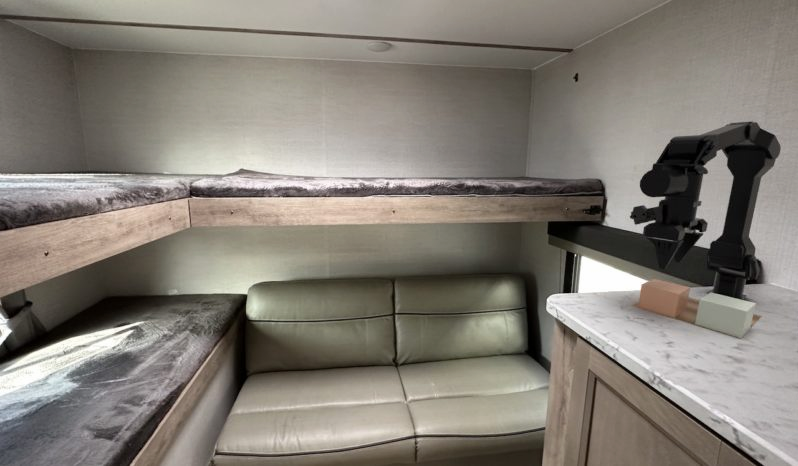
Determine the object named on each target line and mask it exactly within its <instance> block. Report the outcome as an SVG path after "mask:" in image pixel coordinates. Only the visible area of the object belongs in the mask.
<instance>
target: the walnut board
mask: <svg viewBox="0 0 798 466" xmlns="http://www.w3.org/2000/svg"><path fill="white" fill-rule="evenodd" d="M699 301H700V299H696V298H694V297H690V296H689V297H688V303H687V308H686V311H684V312H683V313H681V314H680V315H678V316H677V317H675V318H673V317H670V316H667V315H663V314H660V313H657V312H654V311H650V310H647V309H644V308H640V307H638V304H639V302H637V303H635V304H633V305H632V307H635V308H638V309H641V310H644V311H648V312H651V313H653V314H657V315H660V316H664V317H667V318H670V319H674V320H676V321H679V322H682V323H686V324H690V325H693V326H697V327H700V328H703V329H705V330H710V331H713V332H716V333H719V334H722V335H725V336H729V337H732V338H734V339H739V340H741V339H742V338H743V337H744V336H745V335H746V334H747V332H746V333H745V334H744V335H743V336H742V338H739V337H735V336H732V335H729V334H726V333H722V332H719V331H716V330H712V329H709V328H706V327H703V326H699V325H696V324H695V321H696V316H697V311H698V306H699ZM762 317H763V316H762V315H760V314H756V313H754V314H753V318H752V322H751V327H750V329H751V328H752V327H754V326H755V324H756V323H757V322H758V321H759V320H760V319H761V318H762Z"/></svg>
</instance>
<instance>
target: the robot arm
mask: <svg viewBox="0 0 798 466" xmlns="http://www.w3.org/2000/svg"><path fill="white" fill-rule="evenodd" d="M781 150H782V147H781V144H780V142H779V140H778V139H777V136H776V135H775V134H774V133H772V132H769V131H767V130H765V129H763V128H761V127H760V125H759V123H758V122H757V121H756V122H755V121H750V120H749V121H739V122H738V121H737V122H731V123H729V124H728V123H727V124H726V125H724V126H721V127H720V128H717V129H716V128H715V129H712V130H710V131H707V132H704V133H701V134H696V135H694V134H693V135H677V136H673V137H672V138H671V139H670V140H669V142H668V143H667V145H666V146H665V147H664V149H663V151H662V152H661V154H660V156H659V157H658V158H657V160H656V162H655V163H653V164H652V166H651V167H652V168H651V169H650V170H648V171H646V172H645V173H644V174H643V176H642V177H641V179H640V181H639V188H640V190H641V193H642V194H643V195H645V196H647V197H649V198H662V197H663V199H660V200H659V202H658V206H653V207H649V208H647V207H646V206H645V205H644V204H643V205H637V206H633V209H632V211H630V215H629V218H630V220H633V224H634V225H635V226H636V225H641V224H645V223H648V224H647V225H645V226H643V231H642V236H644V237H645V239H646V240H648V241H649V242H651V244H653V246H654V250H655V254H656V256H655V257H656V260H657V266H658V267H657V268H658V269H660V270H665V269H666V268H667V267H668V266H669V264H670V262H671V261H672V260H673V259H674V262H675V263H682V261H683V260H684V259H685V257H686V256H687V255H688V253H689V252H690V251H691V250H692V248H693V247H694V246H695V245H696V243H697V242H699V240H700V239H701V237H703V236H704V233H706V232H707V229H708V224H709V223H708V221H706V220H705V219H704V218H699V217H696V216H697V212H698V211H697V210H698V207H700V206H701V207H702V202H703V201H702V200H700V194H701V189H702V185H703V184H702V183H703V179H704V175H708V174H709V171H708V169H707V168H706V167H705V165H707V163H708V162H710V161H711V160H713V159H715V158H716V157H717V153H718V151H722V152H723V155H725V158H727V160H726V167H727V168H728V170H729V172H730V173H731V175H732V176H733V178H732V184H731V189H730V194H729V199H728V204H727V209H726V214H725V219H724V224H723V230H722V234H721V235H720V236H718V237H717V239H715V240H712V241H711V242H710V243H709V250H708V251H707V255H706V270H707V271H710V272H711V271H712V272H716V273H715V277H714V282H713V287H712V289H711V290H709V291H707V292H706V293H707V294H709V293H710V292H711V293H715V294H719V295H724V296H728V297H732V298H736V299H740V300H744V301H745V299H746V298H747V295H746V294H744V290H745V286H746V282H747V281H748V280H749V281H750V280H754V281H755V280H757V279H758V276H760V272H761V268H760V266H759V262H758V260H757V257H756V256H755V255H756V249H757V248H756V246H755V245H754V243H753V241H752V239H751V237H750V233H751V232H750V231H751V227H752V222H753V218H754V212H755V208H756V204H757V199H758V194H759V190H760V187H761V186H760V184H761V181H762V177H764V176H765V174H767V173H768V172H769V171H770V170H771V169H772V168H773V167H774V166H775V162H776V159H778V158H779V156H780V154H781ZM653 221H654V222H653ZM649 222H650V223H649ZM707 294H706V295H707Z"/></svg>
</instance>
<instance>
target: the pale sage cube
mask: <svg viewBox="0 0 798 466" xmlns="http://www.w3.org/2000/svg"><path fill="white" fill-rule="evenodd" d="M699 300H700V301H699V306H698V311H697V316H696V321H695V324H696V325H699V326H703V327H706V328H709V329H712V330H716V331H719V332H722V333H726V334H729V335H732V336H735V337H739V338H741V339H742V338H743V337H744V336H745V335H746V334H747V332H749V330H751V328H752V327H751V322H752V318H753V314H755V309H756V304H757V303H756V302H752V301H748V300H745V299H744V300H740V299H736V298H732V297H728V296H724V295H719V294H715V293H711V292H710V293H709V294H706V295H704V296H703V297H701V298H700V299H699ZM696 325H695V326H696ZM699 326H698V327H699ZM750 327H751V328H750ZM706 328H705V329H706ZM709 329H708V330H709ZM712 330H711V331H712ZM719 332H718V333H719ZM722 333H721V334H722ZM745 333H746V334H745ZM744 334H745V335H744ZM743 335H744V336H743ZM732 336H731V337H732ZM742 336H743V337H742ZM735 337H734V338H735Z"/></svg>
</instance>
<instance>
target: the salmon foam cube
mask: <svg viewBox="0 0 798 466" xmlns="http://www.w3.org/2000/svg"><path fill="white" fill-rule="evenodd" d="M690 292H691V287H689V286H685V285H682V284H678V283H677V284H676V283H673V282H668V281H664V280H661V279H657V278H653V279H650V280H648V281H646V282H644V283H642V284H641V287H640V293H639V298H638V299H639V300H638V303H639V304H638V307H640V308H644V309H647V310H650V311H654V312H657V313H660V314H663V315H667V316H670V317H673V318H675V317H677V316H678V315H680V314H681V313H683V312H684V311H686V308H687V303H688V297H690ZM640 308H639V309H640ZM644 309H643V310H644ZM647 310H646V311H647ZM650 311H649V312H650ZM657 313H656V314H657ZM660 314H659V315H660ZM663 315H662V316H663ZM670 317H669V318H670ZM673 318H672V319H673Z"/></svg>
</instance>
